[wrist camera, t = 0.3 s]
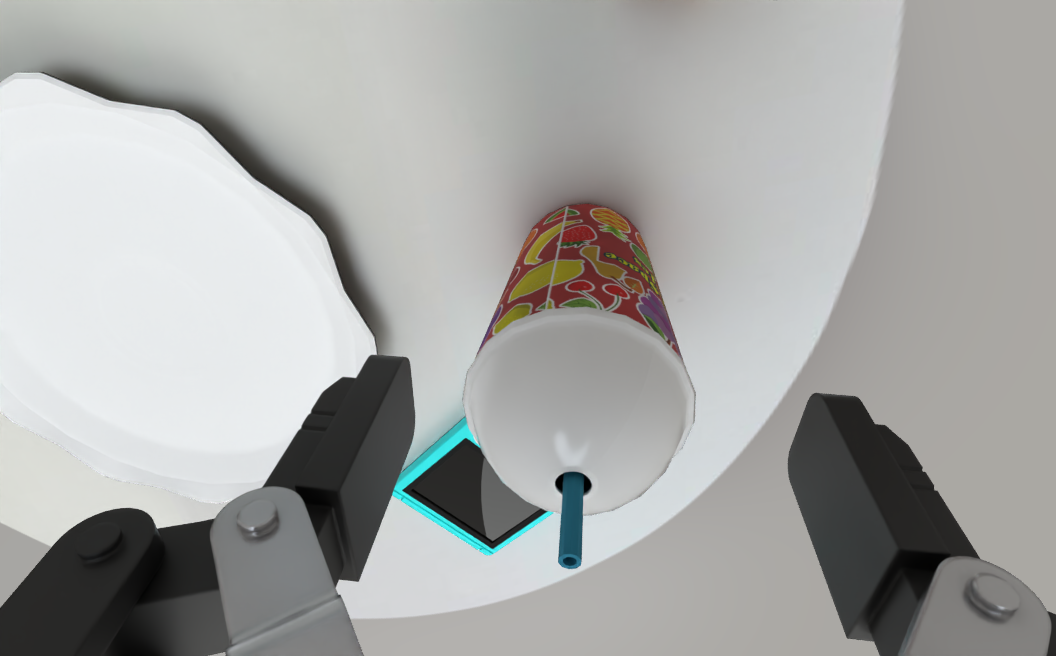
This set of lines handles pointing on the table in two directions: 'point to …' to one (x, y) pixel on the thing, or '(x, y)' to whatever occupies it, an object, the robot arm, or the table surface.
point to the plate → (158, 295)
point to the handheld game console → (466, 493)
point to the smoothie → (580, 373)
